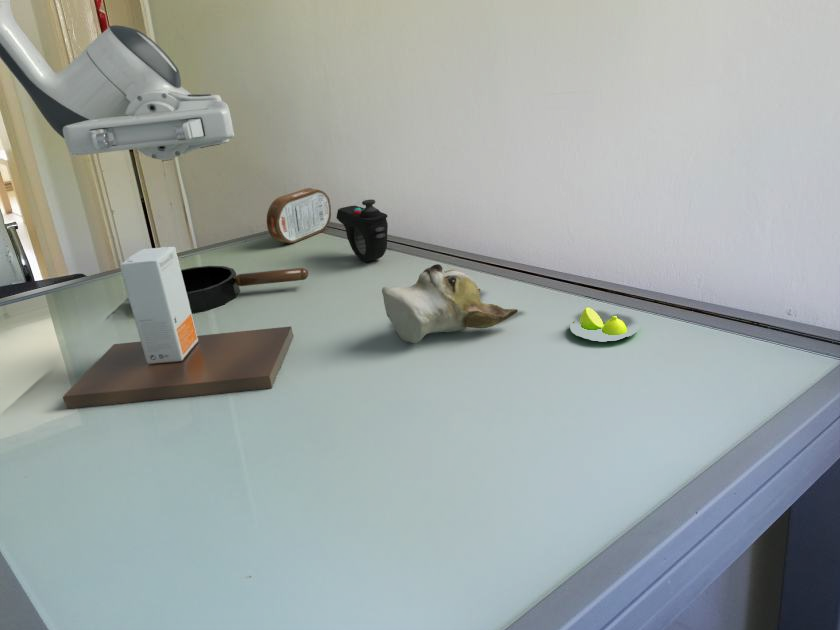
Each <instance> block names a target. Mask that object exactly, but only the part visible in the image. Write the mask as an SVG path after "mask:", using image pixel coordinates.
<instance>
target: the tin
mask: <svg viewBox="0 0 840 630" xmlns="http://www.w3.org/2000/svg"><path fill="white" fill-rule="evenodd" d="M331 217H332V207H331V199H330V198H329V195H327V193H326V192H325V191H323V190H321V189H316V188H312V187H307V188H303V189H300V190H296V191H293V192H290V193H287V194H284V195H280V196H278V197H276V198H275V199H274V200H273V201H272V202H271V204H270V205H269V207H268V210H267V213H266V227H267V228H266V229H267V232H268V233H269V235H270V237H271V238H272V239H273V240H274V241H276V242H278V243H284V244H295V243H297V242H300V241H302V240H305V239H307V238H310V237H312V236H315V235H318V234H320V233H322V232H324V231H325V230H326V229H327V228H328V226H329V224H330V222H331Z"/></svg>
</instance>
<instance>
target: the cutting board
mask: <svg viewBox="0 0 840 630" xmlns="http://www.w3.org/2000/svg"><path fill="white" fill-rule="evenodd" d="M197 337H198V342H197V343H196V344H195V345H194V347H193V348H192V349H191V350H190V351H189V352H188V354H187V355H186V356H185V357H184V359H183V360H182V361H177V362H165V363H155V364H148V363H147V361H146V358H145V354H144V351H143V347H142V344H141V340H140V341H132V342H131V341H130V342H122V343H113V344H112V346H110V347H109V349H108V350H106V351H105V352H104V354H103V355H101V357H100V358H99V359H98V360H97V361H95V363H94V364H93V365H92V366H91V367H90V368H89V369H88V370H87V371H86V372H85V373H84V374H83V376H81V377H80V379H78V380H77V381H76V382H75V383H74V385H72V387H70V388H69V390H68V391H66V393H65V394H64V395H63V396H62V399H63V402H64V405H65V407H66V409H67V410H68V409H69V410H70V409H78V408H88V407H89V408H90V407H97V406H108V405H119V404H120V405H121V404H128V403H129V404H130V403H139V402H147V401H149V402H150V401H158V400H166V399H167V400H169V399H178V398H188V397H197V396H208V395H218V394H227V393H238V392H249V391H258V390H267V389H266V388H268V389H272V388H273V387H274V385H273V384H275V382H276V380H277V377H278V375H279V373H280V370H281V368H282V366H281V365H283V363H284V361H283V360H285V358H286V355H287V354H288V351H289V348H290V346H291V345H292V341H293V339H294V331H293V327H292V326H291V325H290V326H281V327H270V328H261V329H251V330H241V331H230V332H223V333H222V332H221V333H213V334H212V333H211V334H201V335H197ZM280 367H281V368H280ZM279 369H280V370H279ZM278 372H279V373H278ZM277 374H278V375H277ZM276 376H277V377H276ZM275 379H276V380H275Z"/></svg>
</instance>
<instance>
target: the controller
mask: <svg viewBox="0 0 840 630" xmlns="http://www.w3.org/2000/svg"><path fill="white" fill-rule="evenodd" d="M361 204H362V205H363V206H365V207H362V206H358V205H349V206H348V205H347V206H345V207H344V206H343V207H339V208H338V209H337V212H336V219H337V221H338V222H339V223H341V224H342V225H343V227H344V229H345V233H346V236H347V240H348V243H349V245H350V249H352V251H353V253H354V255H355V256H356V257H357V258H358V259H360V260H361V261H363V262H372V261H376V260H379V259H380V258H382V257H383V256H384V255H385V253H386V251H387V248H388V229H389V223H388V220H387V218H388V217H389V216H388V214H386V213H385V212H383V211H382V212H381V211H380V210H379V209H378V208H376V207H375V206H374V205H375V204H376V200H375V199H365V200H362V201H361Z"/></svg>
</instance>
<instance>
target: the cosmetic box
mask: <svg viewBox="0 0 840 630" xmlns="http://www.w3.org/2000/svg"><path fill="white" fill-rule="evenodd" d="M119 269H120V272H121V276H122V280H123V283H124V287H125V290H126V294H127V297H128V301H129V305H130V308H131V311H132V315H133V319H134V322H135V326H136V328H137V333H138V336H139V340H140V341H141V344H142V347H143V351H144V354H145V358H146V361H147V363H148V364H155V363H165V362H177V361H182V360H183V359H184V357H185V356H186V355H187V354H188V352H189V351H190V350H191V349H192V348H193V347H194V345H195V344H196V343H197V342H198V337H197V336H198V333H197V329H196V325H195V321H194V317H193V314H192V313H191V309H190V305H189V301H188V296H187V293H186V289H185V285H184V281H183V277H182V272H181V270H182V268H181V265H180V262H179V257H178V253H177V249H176V247H175V246H163V247H151V248H141V249H140V250H138V251H137V252H136V253H133V254H131V255H130V256H128V258H127V259H125V260H124V261H123V262H121V263H120V264H119Z"/></svg>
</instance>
